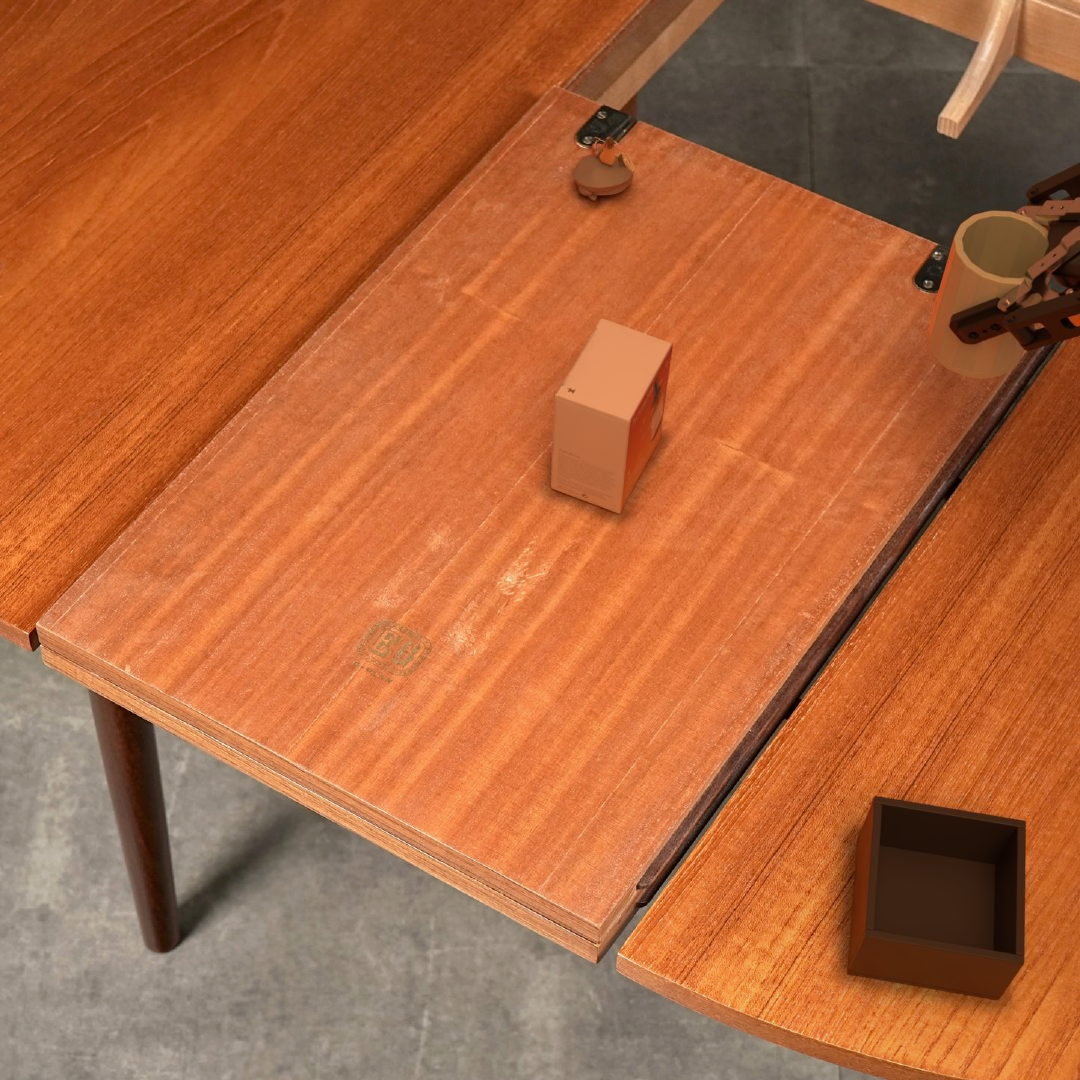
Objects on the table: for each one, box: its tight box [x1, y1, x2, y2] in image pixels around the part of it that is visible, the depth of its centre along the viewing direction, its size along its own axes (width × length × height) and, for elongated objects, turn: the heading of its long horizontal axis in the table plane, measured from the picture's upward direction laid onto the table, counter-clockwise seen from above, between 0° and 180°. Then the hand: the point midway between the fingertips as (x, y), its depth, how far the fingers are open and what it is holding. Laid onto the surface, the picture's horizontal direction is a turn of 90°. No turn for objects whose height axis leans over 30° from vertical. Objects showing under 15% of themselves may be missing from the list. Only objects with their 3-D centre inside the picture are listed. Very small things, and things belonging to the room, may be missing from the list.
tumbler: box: [926, 210, 1053, 380], centre depth 110 cm, size 6×6×9 cm
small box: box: [550, 317, 674, 515], centre depth 119 cm, size 8×6×10 cm
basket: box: [846, 795, 1027, 1001], centre depth 101 cm, size 9×9×6 cm
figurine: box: [572, 136, 637, 202], centre depth 137 cm, size 5×4×6 cm
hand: (965, 292), depth 111 cm, fingers closed on tumbler, 6 cm apart
